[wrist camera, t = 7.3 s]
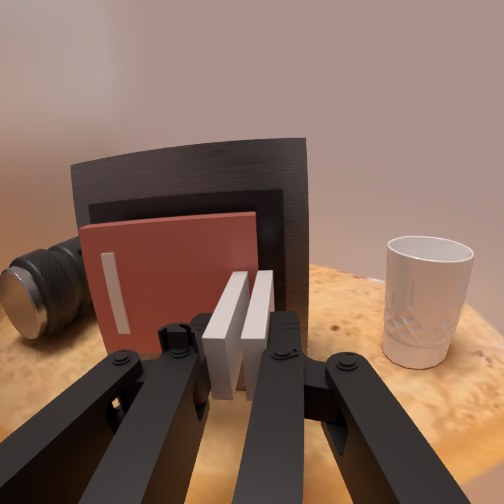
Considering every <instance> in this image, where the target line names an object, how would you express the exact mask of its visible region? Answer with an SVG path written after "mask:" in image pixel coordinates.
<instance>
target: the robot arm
mask: <svg viewBox="0 0 504 504" xmlns="http://www.w3.org/2000/svg"><path fill="white" fill-rule="evenodd" d="M157 332H158V337H159V341H160V345H161V349H162V353H161V354H160V356H159V358H157V359H151V360H142V361H141V360H140V356H139V354H138V353H137V352H135V351H133V350H127V349H125V350H118V351H116V352H113V353H111V354H110V355H108V356H107V357H106V358H104V359H103V360H102V361H101V362H99V363H98V364H97V365H96V366H94V367H93V368H92V369H91V370H89V371H88V372H87V373H86V374H84V375H83V376H82V377H81V378H80V379H78V380H77V381H76V382H75V383H73V384H72V385H71V386H70V387H68V388H67V389H66V390H65V391H63V392H62V393H61V394H60V395H59V396H57V397H56V398H55V399H54V400H52V401H51V402H50V403H49V404H47V405H46V406H45V407H44V408H43V409H41V410H40V411H39V412H38V413H36V414H35V415H34V416H33V417H32V418H30V419H29V420H28V421H27V422H25V423H24V424H23V425H22V426H21V427H19V428H18V429H17V430H16V431H14V432H13V433H12V434H11V435H10V436H8V437H7V438H6V439H5V440H3V441H2V442H1V443H0V504H184V502H185V498H186V494H187V491H188V487H189V483H190V480H191V476H192V472H193V468H194V465H195V461H196V457H197V453H198V450H199V446H200V442H201V438H202V435H203V431H204V427H205V424H206V420H207V416H208V412H209V409H210V406H209V399H208V396H209V393H210V390H211V393H212V398H213V399H219V400H233V398H234V394H235V389H236V385H237V380H238V376H239V372H240V367H241V363H242V358H243V367H244V377H245V386H246V396H247V401H253V404H252V409H251V414H250V419H249V424H248V429H247V434H246V439H245V444H244V449H243V454H242V459H241V464H240V468H239V473H238V478H237V483H236V487H235V492H234V496H233V501H232V504H302V501H303V469H304V418H306V419H311V420H316V421H321V426H322V429H323V431H324V434H325V436H326V438H327V441H328V443H329V446H330V448H331V451H332V453H333V455H334V458H335V460H336V463H337V465H338V467H339V470H340V472H341V475H342V477H343V479H344V482H345V484H346V487H347V489H348V491H349V494H350V496H351V499H352V501H353V503H354V504H471V503H470V501H469V500H468V498H467V497H466V495H465V494H464V493H463V491H462V490H461V488H460V487H459V485H458V484H457V482H456V481H455V480H454V478H453V477H452V475H451V474H450V472H449V471H448V470H447V468H446V467H445V465H444V464H443V463H442V461H441V460H440V458H439V457H438V456H437V454H436V453H435V451H434V450H433V449H432V447H431V446H430V444H429V443H428V442H427V440H426V439H425V437H424V436H423V435H422V433H421V432H420V431H419V429H418V428H417V426H416V425H415V424H414V422H413V421H412V420H411V418H410V417H409V416H408V414H407V413H406V411H405V410H404V409H403V407H402V406H401V405H400V403H399V402H398V401H397V399H396V398H395V397H394V395H393V394H392V393H391V391H390V390H389V389H388V387H387V386H386V385H385V383H384V382H383V381H382V379H381V378H380V377H379V375H378V374H377V373H376V371H375V370H374V369H373V367H372V366H371V365H370V363H369V362H368V361H367V360H366V359H365V358H364V357H363V356H362V355H359V354H357V353H352V352H340V353H337V354H334V355H332V356H331V357H329V358H328V359H327V361H326V362H320V361H316V360H313V359H310V358H308V357H307V356H305V354H304V353H303V351H302V346H301V333H300V321H299V316H298V315H297V314H296V313H295V312H294V311H277V312H274V288H273V270H268V271H258V272H257V276H256V280H255V284H254V288H253V292H252V296H251V300H250V294H249V280H248V271H235V272H233V273H232V275H231V277H230V279H229V281H228V284H227V286H226V288H225V290H224V292H223V294H222V296H221V298H220V300H219V302H218V305H217V307H216V309H215V311H214V313H199V314H198V315H196V316H195V317H194V318H192V320H191V321H190V323H189V324H188V323H182V322H180V323H172V324H168V325H165V326H163V327H161V328H160V329H159V330H158V331H157ZM116 398H117V399H118V402H119V404H120V405H119V406H118V407H116V408H114V407H113V405H112V402H113V401H114V400H115V399H116Z"/></svg>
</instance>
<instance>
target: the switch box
mask: <svg viewBox="0 0 504 504" xmlns="http://www.w3.org/2000/svg"><path fill="white" fill-rule="evenodd" d="M71 179H72V189H73V199H74V207H75V215H76V222H77V228H78V229H80V228H82V227H84V226H87V225H91V224H101V223H111V222H121V221H131V220H143V219H154V218H166V217H179V216H193V215H207V214H223V213H240V212H255V213H256V232H257V251H258V271H268V270H273V288H274V312H277V311H294V312H295V313H296V314H297V315H298V316H299V321H300V333H301V346H302V351H303V353H304V354H305V356H307V339H308V306H309V212H308V211H309V208H308V174H307V151H306V138H279V139H255V140H240V141H226V142H214V143H204V144H194V145H186V146H177V147H169V148H162V149H155V150H148V151H141V152H136V153H129V154H123V155H118V156H113V157H108V158H102V159H97V160H93V161H87V162H83V163H78V164H74V165H71ZM78 235H79V232H78ZM79 241H80V238H79ZM80 246H81V244H80ZM81 252H82V249H81ZM82 257H83V255H82ZM83 262H84V260H83ZM84 267H85V265H84ZM85 272H86V270H85ZM86 277H87V274H86ZM87 281H88V279H87ZM88 286H89V283H88ZM89 290H90V288H89ZM90 294H91V292H90ZM91 298H92V296H91ZM92 302H93V300H92ZM93 306H94V304H93ZM94 310H95V308H94ZM95 314H96V312H95ZM96 317H97V315H96ZM97 321H98V319H97ZM98 324H99V323H98ZM99 328H100V326H99ZM100 331H101V330H100ZM101 335H102V333H101ZM102 338H103V336H102ZM103 341H104V340H103ZM104 344H105V343H104ZM105 348H106V346H105ZM106 351H107V349H106ZM113 352H116V351H107V354H108V355H110V354H111V353H113ZM138 354H139V356H140V360H141V361H142V360H151V359H157V358H159V356H160V354H153V353H138ZM235 390H246V386H245V377H244V367H243V358H242V363H241V367H240V372H239V376H238V380H237V385H236V389H235Z"/></svg>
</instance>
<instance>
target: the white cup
mask: <svg viewBox="0 0 504 504" xmlns="http://www.w3.org/2000/svg"><path fill="white" fill-rule="evenodd" d="M473 259H474V252H473V251H472V250H471V249H470V248H469V247H467V246H465V245H463V244H461V243H458V242H455V241H451V240H447V239H442V238H436V237H428V236H405V237H398V238H394V239H392V240H390V241H389V242H388V243H387V269H386V270H387V271H386V286H385V309H384V328H383V336H382V348H383V353H384V354H385V355H386V356H387V357H388V358H389V359H390V360H391V361H392V362H394V363H396V364H399V365H401V366H403V367H406V368H414V369H425V368H430V367H434V366H436V365H438V364H439V363H440V362H442V361H443V360H444V359H445V357H446V354H447V351H448V348H449V345H450V342H451V339H452V336H453V334H454V332H455V330H456V327H457V324H458V321H459V318H460V314H461V310H462V308H463V304H464V301H465V296H466V292H467V288H468V284H469V279H470V274H471V269H472V265H473Z"/></svg>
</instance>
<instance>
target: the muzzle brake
mask: <svg viewBox="0 0 504 504" xmlns="http://www.w3.org/2000/svg"><path fill="white" fill-rule="evenodd" d="M0 298H1V301H2V304H3V307H4V310H5V312H6V314H7V316H8V318H9V320H10V321H11V323H12V324H13V326H14V327H15V328H16V329H17V331H18V332H19V333H20V334H21V335H23V336H24V337H25V338H27V339H31V340H33V339H36V338H37V337H39V336H42V337H43V336H51V335H52V334H54V333H55V332H56V331H58V330H59V329H61V328H62V327H63V326H67V327H68V326H70V325H71V324H72V323H74V322H75V321H77V320H78V319H79V318H81V317H82V316H83V310H84V309H85V308H87V307H88V306H90V305H91V304H93V302H92V298H91V294H90V290H89V286H88V281H87V277H86V272H85V267H84V262H83V257H82V252H81V246H80V241H79V236H78V237H76V238H72V239H69V240H67V241H64V242H61V243H59V244H56V245H54V246H52V247H50V248H49V249H48V250H45V249H38V250H35V251H33V252H30V253H28V254H25V255H23V256H20V257H18V258H16V259H15V260H13V261H12V263H11V264H10V266H9V267H8V268H7V269H5V270H4V271H3V272H2V273H1V275H0Z"/></svg>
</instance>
